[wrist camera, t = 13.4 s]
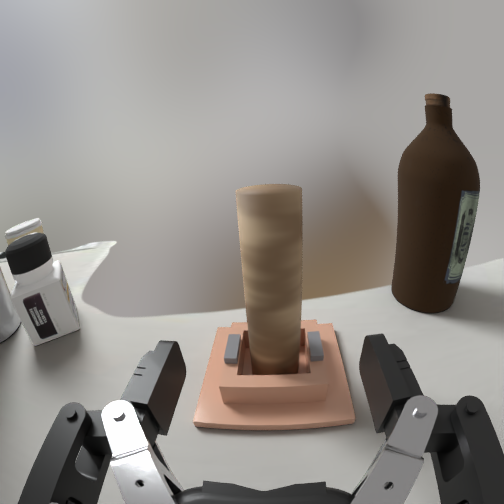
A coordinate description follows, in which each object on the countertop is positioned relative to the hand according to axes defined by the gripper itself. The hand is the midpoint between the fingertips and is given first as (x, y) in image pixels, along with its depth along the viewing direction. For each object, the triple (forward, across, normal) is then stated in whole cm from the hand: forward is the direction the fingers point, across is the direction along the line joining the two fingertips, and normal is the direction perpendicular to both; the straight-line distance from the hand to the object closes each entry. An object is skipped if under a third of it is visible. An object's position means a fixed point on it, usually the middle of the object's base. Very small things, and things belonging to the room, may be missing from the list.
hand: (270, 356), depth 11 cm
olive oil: (+19, -20, +11) cm, 30 cm away
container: (+13, +30, +10) cm, 35 cm away
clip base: (+8, 0, +10) cm, 13 cm away
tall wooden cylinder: (+8, 0, +10) cm, 13 cm away
